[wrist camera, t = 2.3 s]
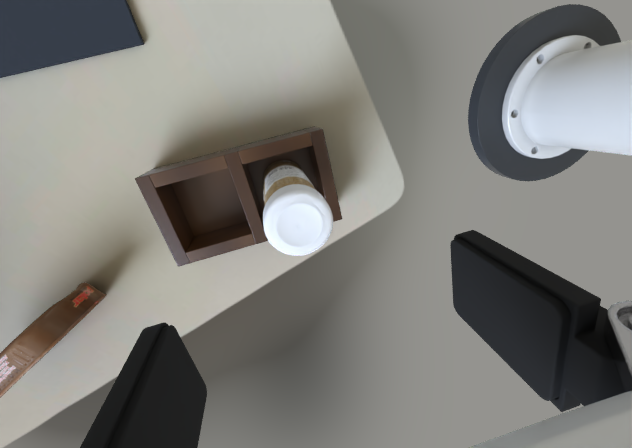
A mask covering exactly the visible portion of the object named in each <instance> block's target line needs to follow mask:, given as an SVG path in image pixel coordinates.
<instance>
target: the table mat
mask: <svg viewBox="0 0 632 448" xmlns="http://www.w3.org/2000/svg"><path fill="white" fill-rule="evenodd" d="M139 45H144V42H143V40H142V37H141V35H140V32H139V30H138V28H137V25H136V23H135V20H134V18H133V15H132V13H131V10H130V8H129V5H128V3H127V0H0V78H2V77H6V76H10V75H15V74H19V73H23V72H28V71H32V70H36V69H41V68H45V67H49V66H53V65H58V64H62V63H66V62H71V61H75V60H79V59H83V58H88V57H92V56H96V55H101V54H105V53H109V52H113V51H118V50H122V49H126V48H131V47H135V46H139Z"/></svg>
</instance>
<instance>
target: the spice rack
mask: <svg viewBox="0 0 632 448" xmlns="http://www.w3.org/2000/svg"><path fill="white" fill-rule="evenodd" d="M280 160H290V161H293V162H295V163H296V164H298V165H299V166H300V167H301V168H302V170H303V172H304V174H305V175H306V176H307V178H308V179H309V181H310V182H311V183H312V185H313V186H314V188H315V190H317V191H318V192H319V193H320V194H321V195H322V196H323V197H324V199H325V200H326V202H327V203H328V205H329V207H330V209H331V212H332V215H333V222H334V221H337V220H341V219H342V216H341V211H340V207H339V202H338V198H337V193H336V188H335V184H334V179H333V174H332V170H331V165H330V161H329V156H328V151H327V147H326V142H325V137H324V133H323V129H321V128H317V127H311V128H307V129H303V130H299V131H296V132H292V133H288V134H284V135H280V136H277V137H273V138H269V139H265V140H261V141H258V142H254V143H250V144H246V145H243V146H239V147H235V148H231V149H227V150H224V151H220V152H216V153H212V154H208V155H205V156H201V157H197V158H193V159H189V160H186V161H182V162H178V163H174V164H171V165H167V166H163V167H159V168H155V169H152V170H150V171H148V172H147V173H145V174H143V175H141V176H139V177H137V178H135V180H136V182H137V184H138V186H139V188H140V190H141V192H142V194H143V196H144V198H145V200H146V202H147V204H148V206H149V208H150V210H151V212H152V214H153V216H154V219H155V221H156V223H157V225H158V227H159V229H160V231H161V233H162V235H163V237H164V239H165V241H166V243H167V245H168V247H169V249H170V251H171V253H172V255H173V257H174V259H175V261H176V263H177V265H178V266H182V265H185V264H189V263H192V262H195V261H199V260H202V259H206V258H209V257H213V256H216V255H220V254H223V253H227V252H230V251H234V250H237V249H240V248H244V247H247V246H251V245H254V244H258V243H261V242H265V241H268V239H267V237H266V235H265V232H264V226H263V211H264V207H265V202H264V195H263V190H264V187H263V175H264V172H265V170H266V169H267V168H268V167H269V165H271V164H272V163H274V162H276V161H280Z"/></svg>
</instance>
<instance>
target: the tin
mask: <svg viewBox="0 0 632 448" xmlns="http://www.w3.org/2000/svg"><path fill="white" fill-rule="evenodd" d="M105 296H106V294H103V293H102V292H100V291H99V290H97V289H96V288H94V287H93V286H92V285H90V284H88V283H85V282H83V283H81V284H79V286H78V287H77V288H76V289H75V290H74V291H73V292H72V293H71V294H70V295H68V296H67V297H66V298H64V299H62V300H61V301H59V302H57V303H56V304H54V305H53V306H52V307H50V308H49V309H48V310H47V311H46V312H44V313H43V314H42V315H41V316H40V317H39V318H37V319H36V320H35V321H34V322H33V323H32V324H31V325H30V326H29V327H27V328H26V329H25V330H24V331H23V332H22V333H21V334H20V335H19V336H18V337H17V338H16V339H14V340H13V341H12V342H11V343H10V344H9V345H8V346H7V347H6V348H5V349H4V350H3V351H2V352H1V353H0V398H1V397H2V396H3V395H4V394H5V393H6V392H7V391H8V390H9V389H10V388H11V387H12V386H13V385H14V384H15V383H16V382H17V381H18V380H19V379H20V378H21V377H22V376H23V375H24V374H25V373H26V372H27V371H29V370H30V369H31V368H32V367H33V366H34V365H35V364H36V363H37V362H38V361H39V360H40V359H41V358H42V357H43V356H44V355H46V354H47V353H48V352H49V351H50V350H51V349H52V347H54V346H55V345H56V344H57V343H58V342H59V341H60V340H61V339H62V338H63V337H64V336H65V335H66V334H67V333H68V332H69V331H70V330H71V329H72V328H74V327H75V326H76V325H77V324H78V323H79V322H80V321H81V320H82V319H83V318H84V317H85V316H86V315H87V314H88V313H89V312H90V311H91V310H92V309H93V308H94V307H95V306H96V305H97V304H98V303H99V302H100V301H101V300H102V299H104V298H105Z"/></svg>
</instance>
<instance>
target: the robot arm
mask: <svg viewBox="0 0 632 448" xmlns="http://www.w3.org/2000/svg"><path fill="white" fill-rule="evenodd" d="M502 124H503V130H504V133H505V136H506V139H507V140H508V142H509V144H510V145H511V146H512V147H513V148H514V149H515V150H516V151H517V152H519V153H520V154H522V155H524V156H528V157H531V158H539V159H544V158H552V157H555V156H559V155H561V154H563V153H565V152H567V151H569V150H570V149H571V148H573V149H582V150H590V151H599V152H608V153H615V154H624V155H632V40H629V41H624V42H619V43H614V44H609V45H604V46H600V45H598V44H597V43H596V42H595V41H594V40H592V39H590V38H588V37H585V36H579V35H572V36H565V37H561V38H557V39H554V40H551V41H549V42H547V43H545V44H543V45H541V46H540V47H539V48H537V49H536V50H535V51H533V52H532V53H531V54H530V55H529V56H528V57H527V58H526V59H525V60H524V61H523V62H522V64H521V65H520V66H519V68H518V69H517V71H516V72H515V74H514V76H513V78H512V79H511V81H510V83H509V86H508V88H507V91H506V94H505V98H504V102H503V107H502ZM451 264H452V285H453V303H454V308H455V310H456V312H457V313H458V314H459V315H460V317H461V318H462V319H463V320H464V321H465V322H467V324H468V325H469V326H471V327H472V329H473V330H474V331H475V332H476V333H477V334H478V335H479V336H480V337H481V338H482V339H483V340H484V341H485V342H486V343H487V344H488V345H489V346H490V347H491V348H492V349H493V350H494V351H495V352H496V353H497V354H498V355H499V356H500V357H501V358H502V359H503V360H504V361H505V362H506V363H507V364H508V365H509V366H510V367H511V368H512V369H513V370H514V371H515V372H516V373H517V374H518V375H519V376H520V377H521V378H522V379H523V380H524V381H525V382H526V383H527V384H528V385H529V386H530V387H531V388H532V389H533V390H534V391H535V392H536V393H537V394H538V395H539V396H540V397H541V398H543V399H544V400H547V401H549V400H550V401H551V402H552V403H553V404H554V405H555V406H556V407H557V408H558V409H559V410H560V411H561V412H563V411H566V410H569V409H571V408H574V407H576V406H579V405H580V403H581V404H582V405H584V407H581V408H578V409H575V410H572V411H569V412H566V413H563V414H560V415H558V416H555V417H552V418H549V419H546V420H544V421H541V422H538V423H535V424H533V425H530V426H527V427H525V428H522V429H519V430H516V431H513V432H510V433H508V434H505V435H502V436H500V437H497V438H494V439H491V440H488V441H486V442H483V443H480V444H478V445H475V446H472V447H469V448H632V301H625V302H618V303H616V304H613V305H611V306H610V308H609V309H608V310H607V309H605V308H603V307H601V306H600V301H601V299H600V298H599V297H597V296H595V295H593V294H591V293H589V292H587V291H586V290H584V289H582V288H580V287H578V286H576V285H575V284H573V283H571V282H569V281H567V280H565V279H563V278H562V277H560V276H558V275H556V274H554V273H553V272H551V271H549V270H547V269H545V268H543V267H541V266H540V265H538V264H536V263H534V262H532V261H530V260H528V259H527V258H525V257H523V256H521V255H519V254H517V253H516V252H514V251H512V250H510V249H508V248H506V247H504V246H503V245H501V244H499V243H497V242H495V241H493V240H491V239H490V238H488V237H486V236H484V235H482V234H481V233H478V232H477V231H474V230H471V231H468V232H464V233H461V234H458V235H456V236H455V238H454V240H453V241H451ZM206 397H207V390H206V385H205V383H204V381H203V379H202V377H201V376H200V374H199V372H198V370H197V368H196V366H195V364H194V362H193V360H192V358H191V357H190V355H189V353H188V351H187V349H186V347H185V345H184V343H183V342H182V340H181V338H180V336H179V334H178V332H177V330H176V329H175V327H174V326H173V325H170V326H168V324H166V323H161V324H157V325H154V326H151V327H147V328H145V329H143V331H142V332H141V334H140V336H139V338H138V340H137V342H136V344H135V346H134V347H133V349H132V351H131V353H130V355H129V357H128V359H127V361H126V362H125V364H124V366H123V368H122V370H121V372H120V374H119V376H118V377H117V379H116V381H115V383H114V385H113V387H112V389H111V391H110V392H109V394H108V396H107V398H106V400H105V402H104V404H103V406H102V407H101V409H100V411H99V413H98V415H97V417H96V419H95V421H94V423H93V424H92V426H91V428H90V430H89V432H88V434H87V436H86V438H85V439H84V441H83V443H82V445H81V447H80V448H197V446H198V441H199V435H200V430H201V424H202V419H203V413H204V407H205V402H206Z"/></svg>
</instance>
